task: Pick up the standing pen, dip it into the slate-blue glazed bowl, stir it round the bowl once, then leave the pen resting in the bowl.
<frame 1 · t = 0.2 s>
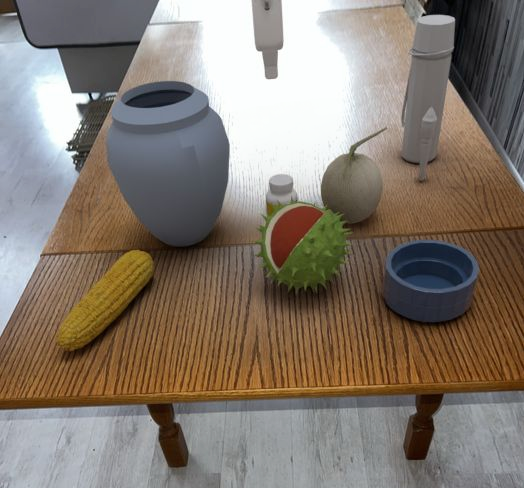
hand: (271, 66, 80), 26 cm above the table, tool pointing down, fingers open, 8 cm apart
supplement bottle: (283, 232, 97), on the table
fruit: (349, 220, 99), on the table
food: (113, 313, 84), on the table
chestnut: (304, 284, 86), on the table
vase: (185, 236, 99), on the table
pen: (421, 181, 107), on the table
bowl: (425, 297, 81), on the table
water bottle: (415, 156, 114), on the table
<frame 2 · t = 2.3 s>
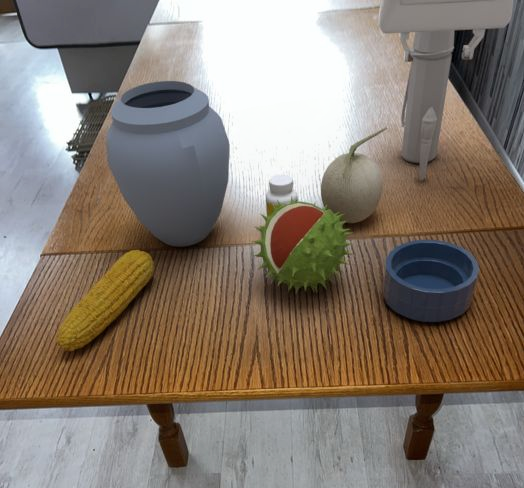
hand: (437, 59, 92), 22 cm above the table, tool pointing down, fingers open, 8 cm apart
nothing on the table moved.
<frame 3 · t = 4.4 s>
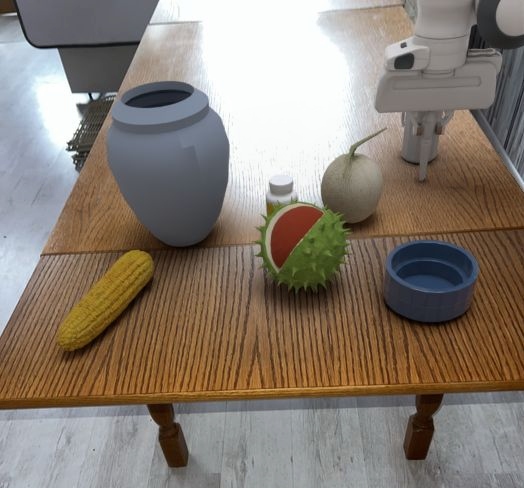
hand: (427, 134, 100), 9 cm above the table, tool pointing down, fingers closed on pen, 2 cm apart
pen: (421, 181, 107), on the table, touching gripper
everything else where it was.
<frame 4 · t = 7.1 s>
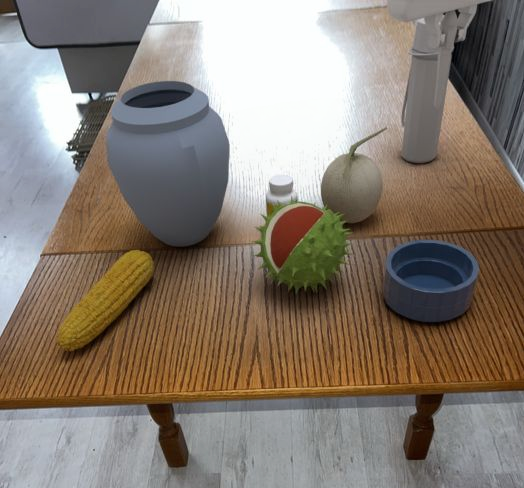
hand: (446, 44, 80), 27 cm above the table, tool pointing down, fingers closed on pen, 2 cm apart
pen: (436, 109, 86), point 18 cm above the table, touching gripper
everything else where it was.
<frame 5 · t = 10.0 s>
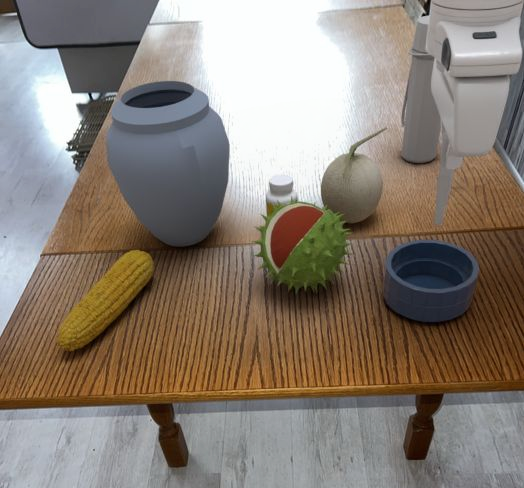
hand: (449, 159, 67), 21 cm above the table, tool pointing down, fingers closed on pen, 2 cm apart
pen: (437, 226, 73), point 12 cm above the table, touching gripper
everything else where it was.
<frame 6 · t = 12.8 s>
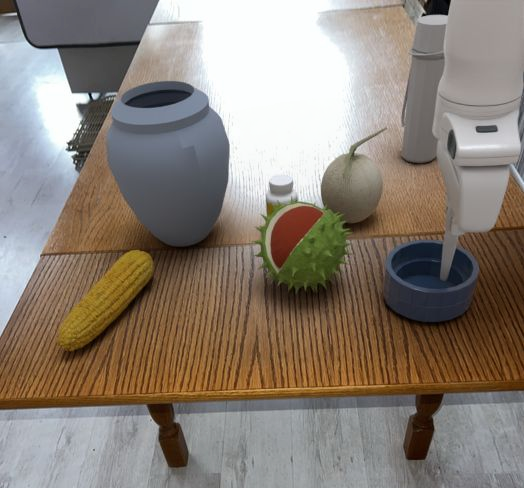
hand: (454, 224, 72), 13 cm above the table, tool pointing down, fingers closed on pen, 2 cm apart
pen: (443, 280, 78), point 3 cm above the table, touching gripper
everything else where it was.
when the fingers open (10 cm above the table, at t = 15.5 s): pen stays where it is, resting on bowl.
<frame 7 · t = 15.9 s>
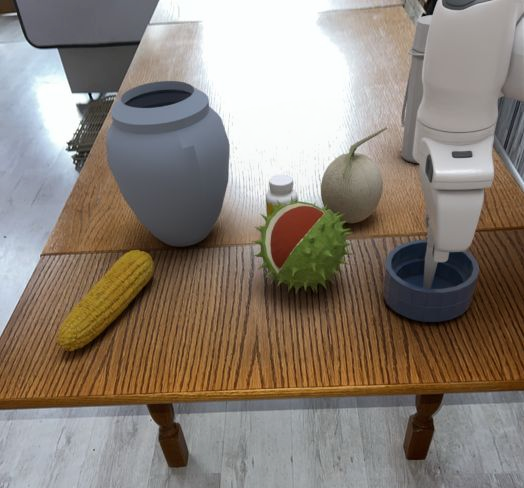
hand: (435, 241, 75), 10 cm above the table, tool pointing down, fingers open, 7 cm apart
pen: (426, 294, 81), point 1 cm above the table, touching bowl
everything else where it was.
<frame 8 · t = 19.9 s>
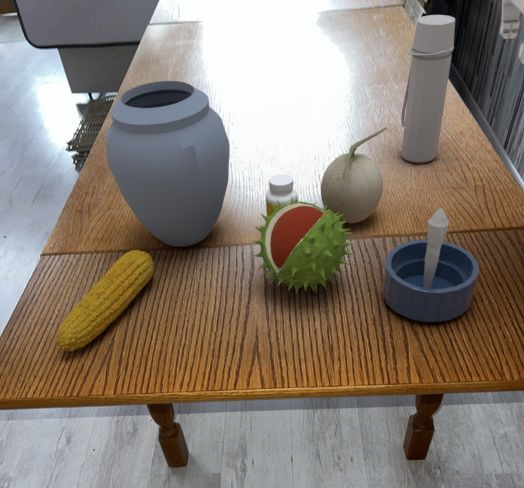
hand: (516, 49, 64), 31 cm above the table, tool pointing down, fingers open, 8 cm apart
nothing on the table moved.
at the end: pen inside the target area in the bowl (0.1 cm from its centre), point 0.6 cm above the bowl's base; pen moved 36.1 cm from its start; the gripper is holding nothing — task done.
